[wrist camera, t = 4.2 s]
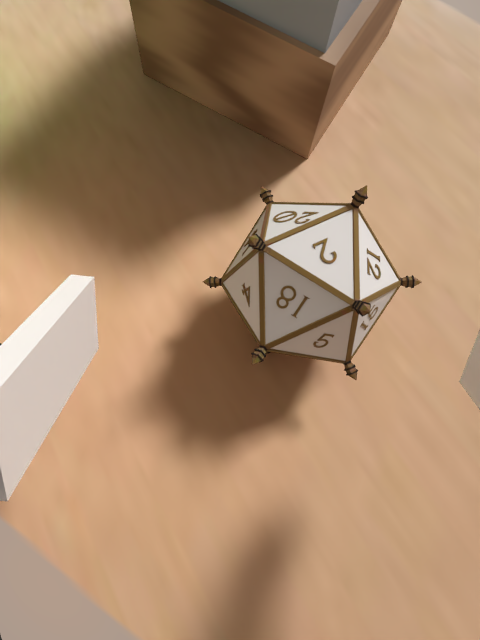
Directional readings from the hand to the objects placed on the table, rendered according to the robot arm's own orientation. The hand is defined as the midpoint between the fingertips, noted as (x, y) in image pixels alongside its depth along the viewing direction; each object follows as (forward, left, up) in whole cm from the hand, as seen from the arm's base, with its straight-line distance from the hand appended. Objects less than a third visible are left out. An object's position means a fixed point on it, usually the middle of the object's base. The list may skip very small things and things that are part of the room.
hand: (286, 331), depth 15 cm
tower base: (+10, -19, -9) cm, 23 cm away
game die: (0, -4, -9) cm, 10 cm away
